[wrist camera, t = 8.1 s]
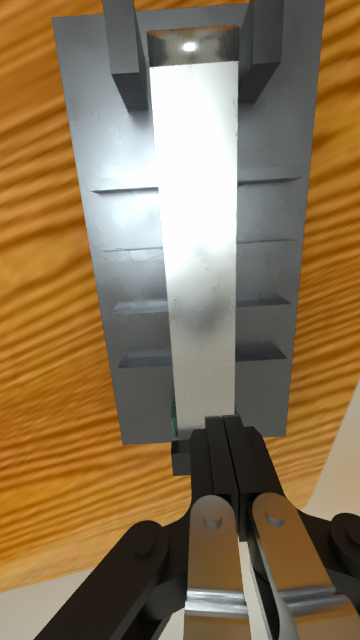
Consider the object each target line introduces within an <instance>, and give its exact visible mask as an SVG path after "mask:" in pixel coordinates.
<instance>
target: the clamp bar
mask: <svg viewBox="0 0 360 640" xmlns="http://www.w3.org/2000/svg"><path fill="white" fill-rule="evenodd" d="M147 46H148V57H149V67H150V80H151V93H152V105H153V118H154V131H155V144H156V157H157V170H158V182H159V195H160V208H161V221H162V234H163V247H164V260H165V272H166V285H167V298H168V311H169V324H170V337H171V349H172V362H173V375H174V388H175V401H176V414H177V427H178V439H179V440H173V441H172V446H171V457H172V467H173V476H181V475H191V467H190V444H189V438H190V436H191V434H192V432H193V430H194V429H205V416H215V415H221V416H222V415H233V414H234V399H235V309H236V218H237V127H238V59H239V49H240V28H239V24H233V25H219V26H205V27H192V28H178V29H164V30H150V31H147Z"/></svg>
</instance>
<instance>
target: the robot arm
mask: <svg viewBox="0 0 360 640" xmlns="http://www.w3.org/2000/svg"><path fill="white" fill-rule="evenodd" d="M189 444H190V467H191V490H192V500H191V504H190V507H189V509H188V511H187V512H186V514H185V515H184V516H183V517H182V518H180V519H179V520H177V521H175V522H173V523H171V524H169V525H166V526H164V527H162V526H161V525H160V524H158V523H157V522H154V521H150V520H145V521H141V522H138V523H136V524H134V525H133V526H132V527H131V528H130V529H129V530H128V531H127V532H126V533H125V534H124V535H123V537H122V538H121V539H120V540H119V541H118V542H117V543H116V545H115V546H114V547H113V548H112V549H111V550H110V552H109V553H108V554H107V555H106V556H105V557H104V559H103V560H102V561H101V562H100V563H99V564H98V566H97V567H96V568H95V569H94V570H93V571H92V572H91V574H90V575H89V576H88V577H87V579H85V581H84V582H83V583H82V584H81V585H80V586H79V588H78V589H77V590H76V591H75V592H74V593H73V595H72V596H71V597H70V598H69V599H68V600H67V602H66V603H65V604H64V605H63V606H62V607H61V609H60V610H59V611H58V612H57V613H56V615H54V617H53V618H52V619H51V620H50V621H49V623H48V624H47V625H46V626H45V627H44V628H43V630H42V631H41V632H40V633H39V634H38V635H37V636H36V637H35V639H34V640H158V639H159V637H160V635H161V633H162V632H163V630H164V628H165V626H166V625H167V623H168V621H169V620H170V617H171V615H172V614H173V613H174V612H176V611H178V610H180V609H182V608H184V607H185V614H184V636H183V640H251V633H250V624H249V616H248V610H247V605H246V602H245V598H244V592H243V583H242V574H241V565H240V557H239V548H238V536H239V541H240V542H243V541H244V542H245V541H247V543H248V548H249V553H250V570H251V574H252V578H253V582H254V586H255V589H256V593H257V597H258V601H259V605H260V608H261V612H262V616H263V620H264V623H265V627H266V631H267V635H268V639H269V640H360V517H359V516H357V515H355V514H351V513H340V514H337V515H336V516H334V517H333V519H332V521H328V520H324V519H321V518H317V517H314V516H310V515H307V514H305V513H303V512H302V511H300V510H298V509H297V508H296V507H294V505H293V504H292V503H291V502H290V501H289V500H288V499H287V498H286V496H285V494H284V492H283V489H282V487H281V484H280V482H279V479H278V476H277V474H276V471H275V468H274V466H273V463H272V461H271V458H270V457H269V453H268V450H267V448H266V445H265V442H264V440H263V437H262V435H261V434H260V433H259V432H258V431H257V430H256V429H255V428H254V426H248V427H243V423H242V420H241V417H240V415H239V414H233V415H222V416H221V415H215V416H205V429H194V430H193V432H192V434H191V436H190V438H189Z"/></svg>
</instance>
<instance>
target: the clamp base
mask: <svg viewBox="0 0 360 640" xmlns="http://www.w3.org/2000/svg"><path fill="white" fill-rule="evenodd" d="M102 2H103V11H104V14H94V15H80V16H67V17H53V18H52V24H53V30H54V36H55V42H56V48H57V54H58V60H59V66H60V72H61V78H62V84H63V90H64V96H65V102H66V108H67V114H68V120H69V126H70V132H71V138H72V144H73V150H74V156H75V162H76V168H77V174H78V180H79V186H80V192H81V197H82V203H83V209H84V215H85V221H86V227H87V233H88V239H89V245H90V251H91V257H92V263H93V269H94V275H95V281H96V287H97V293H98V299H99V305H100V311H101V317H102V323H103V329H104V335H105V341H106V347H107V353H108V359H109V365H110V371H111V377H112V383H113V389H114V395H115V401H116V407H117V413H118V419H119V425H120V431H121V437H122V443H123V445H128V444H147V443H166V442H172V441H173V440H179V439H178V427H177V414H176V401H175V388H174V375H173V362H172V349H171V337H170V324H169V311H168V298H167V285H166V272H165V260H164V247H163V234H162V221H161V208H160V195H159V182H158V170H157V157H156V144H155V131H154V118H153V105H152V93H151V80H150V67H149V57H148V46H147V31H150V30H164V29H178V28H192V27H205V26H219V25H233V24H239V28H240V49H239V59H238V127H237V218H236V309H235V399H234V414H239V415H240V417H241V420H242V423H243V427H248V426H254V428H255V429H256V430H257V431H258V432H259V433H260V434H261V435H262V437H279V436H285V434H286V423H287V413H288V402H289V391H290V380H291V369H292V358H293V347H294V336H295V325H296V314H297V303H298V292H299V281H300V270H301V259H302V248H303V237H304V226H305V215H306V204H307V193H308V182H309V171H310V161H311V150H312V139H313V128H314V117H315V106H316V95H317V84H318V73H319V62H320V51H321V40H322V29H323V18H324V7H325V0H250V2H249V3H243V4H230V5H216V6H202V7H189V8H175V9H162V10H148V11H135V7H134V2H133V0H102Z"/></svg>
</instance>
